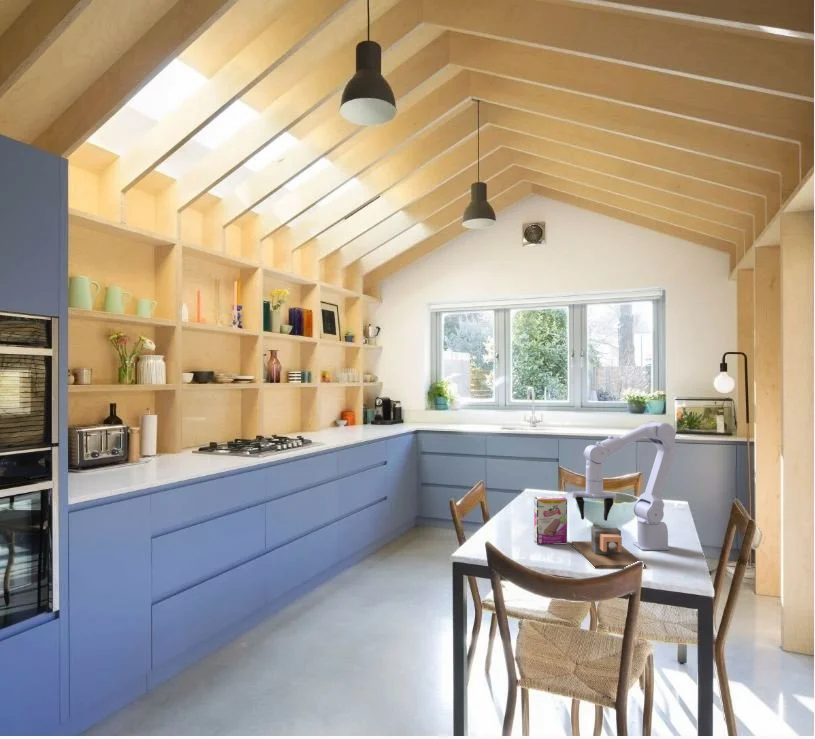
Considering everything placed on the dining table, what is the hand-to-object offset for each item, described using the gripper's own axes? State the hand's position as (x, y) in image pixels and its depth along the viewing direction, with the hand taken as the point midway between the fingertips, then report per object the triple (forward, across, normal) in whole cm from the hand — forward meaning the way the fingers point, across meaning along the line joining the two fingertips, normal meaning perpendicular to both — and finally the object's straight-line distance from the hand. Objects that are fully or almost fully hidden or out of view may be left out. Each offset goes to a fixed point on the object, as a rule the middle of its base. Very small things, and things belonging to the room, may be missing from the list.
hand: (593, 519), depth 199 cm
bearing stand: (+10, +3, -6) cm, 12 cm away
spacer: (+8, +4, -10) cm, 13 cm away
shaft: (+7, +3, -4) cm, 9 cm away
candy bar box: (+11, -14, +7) cm, 19 cm away
